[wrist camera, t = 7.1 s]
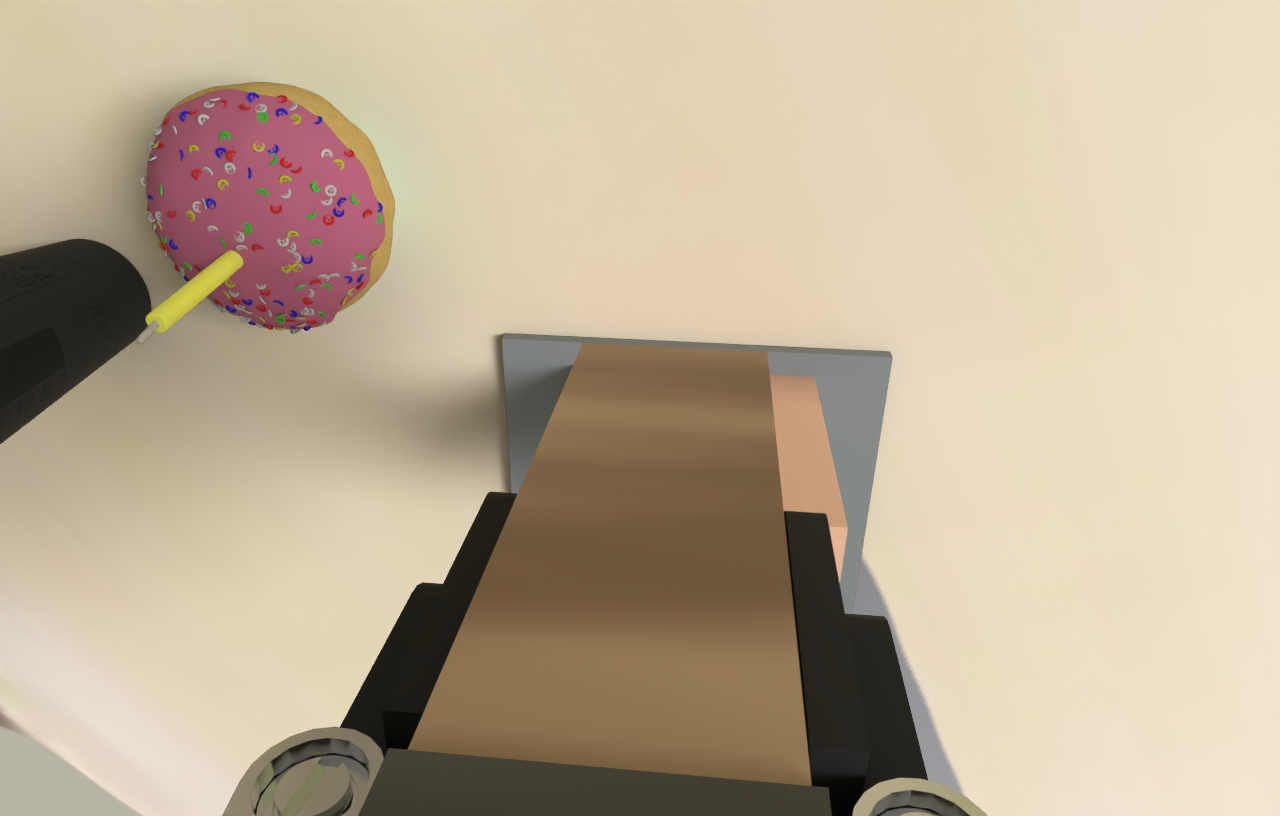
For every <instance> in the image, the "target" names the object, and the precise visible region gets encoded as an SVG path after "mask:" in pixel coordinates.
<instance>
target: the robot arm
mask: <svg viewBox="0 0 1280 816" xmlns="http://www.w3.org/2000/svg"><path fill="white" fill-rule="evenodd" d="M517 494H518V493H503V492H489V493H488V494H487V496H486V498H485V500H484V502H483V504H482V506H481V508H480V510H479V512H478V514H477V516H476V518H475V520H474V522H473V524H472V526H471V528H470V530H469V532H468V534H467V536H466V538H465V540H464V542H463V544H462V546H461V548H460V550H459V552H458V554H457V557H456V559H455V561H454V563H453V565H452V567H451V569H450V571H449V573H448V575H447V577H446V579H445V581H444V583H443V584H436V583H421V584H419V585H417V587H416V588H415V589H414V591H413V592H412V594H411V596H410V598H409V599H408V601H407V603H406V605H405V607H404V609H403V611H402V612H401V614H400V616H399V618H398V620H397V622H396V624H395V625H394V627H393V629H392V631H391V633H390V635H389V637H388V639H387V640H386V642H385V644H384V646H383V648H382V650H381V652H380V653H379V655H378V657H377V659H376V661H375V663H374V665H373V666H372V668H371V670H370V672H369V674H368V676H367V678H366V679H365V681H364V683H363V685H362V687H361V689H360V691H359V693H358V694H357V696H356V698H355V700H354V702H353V704H352V706H351V707H350V709H349V711H348V713H347V715H346V717H345V719H344V720H343V722H342V724H341V726H340V727H328V728H318V729H312V730H309V731H306V732H302V733H299V734H296V735H293V736H290V737H289V738H287V739H285V740H283V741H282V742H280V743H278V744H276V745H274V746H273V747H271V748H269V749H268V750H267V751H266V752H265V753H264V754H263V755H261V756H260V757H259V758H258V759H257V760H256V761H255V762H253V763H252V765H251V766H250V767H249V769H248V770H247V772H246V773H245V775H244V776H243V777H242V779H241V780H240V782H239V784H238V786H237V788H236V790H235V792H234V793H233V795H232V797H231V799H230V801H229V803H228V805H227V807H226V809H225V811H224V813H223V815H222V816H358V815H359V812H360V810H361V808H362V806H363V804H364V801H365V799H366V797H367V795H368V793H369V790H370V788H371V786H372V784H373V782H374V780H375V777H376V775H377V773H378V771H379V769H380V766H381V764H382V762H383V760H384V758H385V755H386V753H387V751H388V749H389V748H394V749H405V750H408V747H409V745H410V743H411V740H412V738H413V736H414V734H415V731H416V729H417V727H418V724H419V722H420V720H421V717H422V715H423V713H424V710H425V708H426V706H427V703H428V701H429V699H430V696H431V694H432V692H433V689H434V687H435V685H436V682H437V680H438V678H439V675H440V673H441V671H442V668H443V666H444V664H445V662H446V659H447V657H448V655H449V652H450V650H451V648H452V645H453V643H454V641H455V638H456V636H457V634H458V631H459V629H460V627H461V624H462V622H463V620H464V617H465V615H466V613H467V610H468V608H469V606H470V603H471V601H472V599H473V597H474V594H475V592H476V590H477V587H478V585H479V583H480V580H481V578H482V576H483V573H484V571H485V569H486V566H487V564H488V562H489V559H490V557H491V555H492V552H493V550H494V548H495V545H496V543H497V541H498V538H499V536H500V534H501V532H502V529H503V527H504V525H505V522H506V520H507V518H508V515H509V513H510V511H511V508H512V506H513V504H514V501H515V499H516V497H517ZM784 520H785V530H786V539H787V549H788V559H789V569H790V579H791V588H792V598H793V608H794V618H795V628H796V637H797V647H798V657H799V667H800V677H801V687H802V696H803V706H804V716H805V726H806V736H807V745H808V755H809V765H810V775H811V785H812V786H816V787H827V788H829V796H830V804H831V812H832V816H987V815H986V813H985V812H983V811H982V810H981V809H980V808H979V807H977V806H976V805H975V804H974V803H973V802H971V801H970V800H969V799H968V798H967V797H965V796H963V795H961V794H960V793H958V792H956V791H954V790H952V789H950V788H948V787H946V786H944V785H942V784H938V783H934V782H931V781H928V778H927V774H926V770H925V766H924V762H923V758H922V754H921V751H920V746H919V742H918V738H917V734H916V730H915V726H914V722H913V718H912V714H911V710H910V706H909V702H908V698H907V694H906V690H905V686H904V682H903V678H902V674H901V670H900V666H899V662H898V658H897V654H896V650H895V646H894V642H893V638H892V634H891V630H890V627H889V624H888V621H887V619H886V618H885V617H883V616H870V615H857V614H845V611H844V605H843V600H842V594H841V589H840V583H839V578H838V573H837V567H836V562H835V556H834V551H833V545H832V540H831V534H830V529H829V524H828V518H827V515H826V514H825V513H813V512H798V511H784Z"/></svg>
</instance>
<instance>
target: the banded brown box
mask: <svg viewBox="0 0 1280 816" xmlns="http://www.w3.org/2000/svg"><path fill="white" fill-rule="evenodd" d="M358 816H832V812H831V804H830V796H829V788H827V787H816V786H812V785H811V775H810V765H809V755H808V745H807V736H806V726H805V716H804V706H803V696H802V687H801V677H800V667H799V657H798V647H797V637H796V628H795V618H794V608H793V598H792V588H791V579H790V569H789V559H788V549H787V539H786V530H785V520H784V510H783V500H782V490H781V481H780V471H779V461H778V451H777V441H776V432H775V422H774V412H773V402H772V392H771V383H770V373H769V363H768V353H767V352H763V351H743V350H723V349H703V348H683V347H662V346H642V345H622V344H602V343H582V346H581V348H580V350H579V353H578V355H577V357H576V360H575V362H574V364H573V367H572V369H571V371H570V374H569V376H568V378H567V381H566V383H565V385H564V388H563V390H562V392H561V395H560V397H559V399H558V401H557V404H556V406H555V408H554V411H553V413H552V415H551V418H550V420H549V422H548V425H547V427H546V429H545V432H544V434H543V436H542V439H541V441H540V443H539V446H538V448H537V450H536V453H535V455H534V457H533V460H532V462H531V464H530V466H529V469H528V471H527V473H526V476H525V478H524V480H523V483H522V485H521V487H520V490H519V492H518V494H517V497H516V499H515V501H514V504H513V506H512V508H511V511H510V513H509V515H508V518H507V520H506V522H505V525H504V527H503V529H502V532H501V534H500V536H499V538H498V541H497V543H496V545H495V548H494V550H493V552H492V555H491V557H490V559H489V562H488V564H487V566H486V569H485V571H484V573H483V576H482V578H481V580H480V583H479V585H478V587H477V590H476V592H475V594H474V597H473V599H472V601H471V603H470V606H469V608H468V610H467V613H466V615H465V617H464V620H463V622H462V624H461V627H460V629H459V631H458V634H457V636H456V638H455V641H454V643H453V645H452V648H451V650H450V652H449V655H448V657H447V659H446V662H445V664H444V666H443V668H442V671H441V673H440V675H439V678H438V680H437V682H436V685H435V687H434V689H433V692H432V694H431V696H430V699H429V701H428V703H427V706H426V708H425V710H424V713H423V715H422V717H421V720H420V722H419V724H418V727H417V729H416V731H415V734H414V736H413V738H412V740H411V743H410V745H409V747H408V750H405V749H394V748H389V749H388V751H387V753H386V755H385V758H384V760H383V762H382V764H381V766H380V769H379V771H378V773H377V775H376V777H375V780H374V782H373V784H372V786H371V788H370V790H369V793H368V795H367V797H366V799H365V801H364V804H363V806H362V808H361V810H360V812H359V815H358Z"/></svg>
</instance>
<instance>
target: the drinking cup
mask: <svg viewBox="0 0 1280 816" xmlns="http://www.w3.org/2000/svg"><path fill="white" fill-rule="evenodd" d="M150 312H151V302H150V296H149V293H148V290H147V287H146V285H145V283H144V281H143V279H142V277H141V276H140V274H139V273H138V271H137V270H136V269H135V268H134V266H133V265H132V264H131V263H130V262H129V261H128V260H127V259H126V258H125V257H123V256H122V255H121V254H120V253H118V252H117V251H115V250H114V249H112V248H110V247H108V246H106V245H104V244H101V243H99V242H95V241H91V240H85V239H73V240H68V241H63V242H59V243H55V244H51V245H46V246H42V247H38V248H34V249H30V250H25V251H21V252H17V253H13V254H8V255H4V256H0V444H1V443H3V442H4V441H5V440H6V439H8V438H9V437H10V436H12V435H13V434H14V433H15V432H17V431H18V430H19V429H21V428H22V427H23V426H24V425H26V424H27V423H28V422H30V421H31V420H32V419H33V418H35V417H36V416H37V415H39V414H40V413H41V412H43V411H44V410H45V409H46V408H48V407H49V406H50V405H52V404H53V403H54V402H55V401H57V400H58V399H59V398H61V397H62V396H63V395H64V394H66V393H67V392H68V391H70V390H71V389H72V388H74V387H75V386H76V385H77V384H79V383H80V382H81V381H83V380H84V379H85V378H86V377H88V376H89V375H90V374H92V373H93V372H94V371H95V370H97V369H98V368H99V367H101V366H102V365H103V364H104V363H106V362H107V361H108V360H110V359H111V358H112V357H114V356H115V355H116V354H117V353H119V352H120V351H121V350H123V349H124V348H125V347H126V346H128V345H129V344H130V343H132V342H133V341H134V340H135V339H137V338H138V336H139V335H140V334H141V333H142V332H143V331H144V330H145V329H146V327H147V323H146V316H147V315H148V314H149V313H150Z"/></svg>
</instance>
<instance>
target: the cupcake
mask: <svg viewBox="0 0 1280 816" xmlns="http://www.w3.org/2000/svg"><path fill="white" fill-rule="evenodd" d="M156 132H157V133H156ZM153 134H154V135H155V136H156V138H155V140H154V142H150V143H149V144H148V149H149V151H150V152H151V153H150V156H149V160H148V167H147V178H146V177H142V178H141V180H140V182H141V184H142V186H144V187H146V191H147V199H148V209H147V210H148V211H150V213H149V215H148V220H149V221H150V222H152V224H153V230H155V232H156V234H157V236H158V238H159V240H160V242H159V247H160V248H161V249H162V250H163V251H165V257H166V258H167V253H168V254H169V256H170V257H171V259H172V260H173V262H174V263H175V269H176V270H177V271H178V272H179V273H180V276H181V277H184V278H185V279H186V281H187V283H186V284H185V285H184V286H183V287H181V288H180V289H179V290H178V291H176V292H175V293H174V294H173V295H171V296H170V297H169V298H168V299H166V300H165V301H164V302H163V303H161V304H160V305H159V306H158V307H156V308H155V309H154V310H153V311H151V312H150V313H149V314H148V315H147V316H146V323H147V325H148V328H147V329H146V330H144V331H143V332H142V333H141V334H140V335H139V336H138V338H137V343H138V344H143V343H144V341H145V340H146V339H147V338H148V337H149V336H150V335H151V334H152V333H153V332H154V331H155V332H159V333H162V332H165V331H166V330H168V329H169V328H170V327H171V326H172V325H174V324H175V323H176V322H177V321H178V320H179V319H181V318H182V317H183V316H184V315H185V314H186V313H188V312H189V311H190V310H191V309H192V308H194V307H195V306H196V305H197V304H198V303H199V302H201V301H202V300H203V299H204V298H205V297H206V296H207V297H208V298H209V299H210V300H211V303H212V305H213V306H214V307H215V308H219V309H220V310H221V311H222V312H225V311H226V310H228V312H229V313H231V314H234V315H237V316H240V320H241V321H242V322H244V323H249V324H251V325H257V326H258V327H259V328H265V327H266V328H268V329H270V330H273V327H275V329H276V330H283V329H291V331H290V332H291V334H297V333H299V332H300V329H304V330H305V331H308V330H309V329H310V328H313V327H321V326H323V325H326V324H328V323H330V322H331V321H333V319H334V317H335V315H336V314H337V312H340V311H341V310H343V309H345V308H347V307H349V306H350V305H352V304H354V303H355V302H357V301H358V300H359V299H360V298H362V297H363V296H364V295H365V294H366V292H367V291H368V290H369V289H370V288H371V287H372V286H373V285H374V284H375V283H376V282H377V280H378V279H379V278H380V277H381V276H382V274H383V273H384V271H385V269H386V267H387V265H388V262H389V258H390V253H391V245H392V235H393V219H394V212H395V202H394V197H393V194H392V191H391V189H390V186H389V184H388V181H387V179H386V176H385V174H384V171H383V169H382V166H381V164H380V161H379V158H378V156H377V153H376V151H375V149H374V146H373V145H372V143H371V141H370V140H369V138H368V137H367V136H366V135H365V134H364V133H363V132H362V131H361V130H360V129H359V128H358V127H357V126H355V125H354V124H353V123H351V122H350V121H349V120H348V119H347V118H346V117H345V116H344V115H343V114H341V113H340V112H339V111H338V110H337V109H336V108H335V107H334V106H333V105H332V104H330V103H329V102H328V101H327V100H326V99H324V98H323V97H321V96H319V95H317V94H315V93H313V92H310V91H307V90H304V89H302V88H299V87H296V86H292V85H286V84H279V83H269V82H254V83H243V84H235V85H228V86H216V87H211V88H208V89H205V90H202V91H200V92H197V93H195V94H193V95H191V96H189V97H187V98H185V99H184V100H182V101H180V102H179V103H178V104H176V105H175V106H174V107H173V108H172V109H171V110H170V111H169V112H168V114H167V115H166V116H165V118H164V120H163V122H162V124H161V126H160V127H159V128H157V129H156V130H155V131H154V133H153ZM152 145H153V146H152ZM150 147H152V148H150ZM143 180H144V182H145V183H143ZM145 180H146V181H145ZM145 184H146V185H145ZM150 217H151V218H150ZM214 302H215V303H214ZM215 304H216V305H217V304H218V305H217V306H216V305H215ZM221 308H222V309H223V308H224V309H223V310H222V309H221ZM242 318H245V319H247V321H246V320H245V319H244V320H243V319H242ZM251 321H252V322H251ZM260 325H261V326H260ZM262 325H263V326H262ZM270 327H271V328H270ZM297 329H298V330H297ZM293 330H294V331H296V330H297V331H296V332H293Z"/></svg>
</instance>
